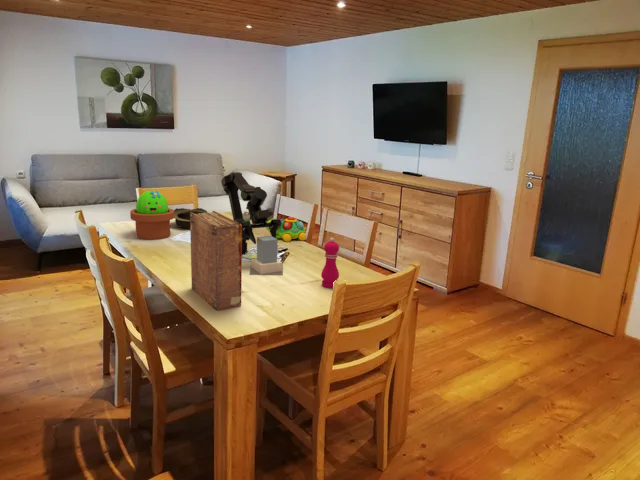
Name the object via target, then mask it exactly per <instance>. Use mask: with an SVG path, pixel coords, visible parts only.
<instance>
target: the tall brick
mask: <svg viewBox="0 0 640 480" xmlns="http://www.w3.org/2000/svg"><path fill="white" fill-rule="evenodd" d="M278 240H279V238H274V237H272V236H271V235H266V236H257V237H256V258H257V260H258V261H260V262H261V263H263V264H265V263H273V262H277V260H278V244H279V243H278V242H279V241H278Z"/></svg>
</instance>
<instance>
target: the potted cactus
mask: <svg viewBox="0 0 640 480" xmlns="http://www.w3.org/2000/svg"><path fill="white" fill-rule="evenodd" d="M174 210H175V209H172V208H170V207H169V205H168V201H167V199H166V197H165V195H164V194H162V193H161V192H160V191H158V190H148V191H147V190H146V191H144V192H142V194H140V196H138V198H137V201H136V205H135V208H134V209H131V210H130V212H129V216H130V220H132V221H134V222H135V236H136V237H137V238H138V239H140V240H141V239H142V240H162V239H166V238H169V237H170V236H171V220H173V219H174Z"/></svg>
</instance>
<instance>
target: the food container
mask: <svg viewBox="0 0 640 480" xmlns="http://www.w3.org/2000/svg"><path fill="white" fill-rule="evenodd" d="M242 215H243V219H244V220H245V221H250V222H251V220H250V214H249V211H243V213H242Z"/></svg>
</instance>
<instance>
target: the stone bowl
mask: <svg viewBox="0 0 640 480" xmlns="http://www.w3.org/2000/svg"><path fill="white" fill-rule="evenodd" d="M173 210H174V218H173V219H174V221H175V225H176V226H177V227H178V228H181V229H188V230H189V229H190V212H192V213H194V214H199V213H209V212H208V211H207V210H206V209H203V208H200V207H199V208H198V207H197V208H192V209H190V208H184V207H181V208H178V207H177V208H175V209H173Z"/></svg>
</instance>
